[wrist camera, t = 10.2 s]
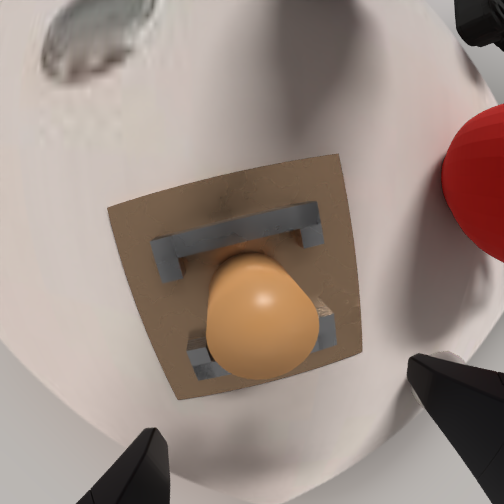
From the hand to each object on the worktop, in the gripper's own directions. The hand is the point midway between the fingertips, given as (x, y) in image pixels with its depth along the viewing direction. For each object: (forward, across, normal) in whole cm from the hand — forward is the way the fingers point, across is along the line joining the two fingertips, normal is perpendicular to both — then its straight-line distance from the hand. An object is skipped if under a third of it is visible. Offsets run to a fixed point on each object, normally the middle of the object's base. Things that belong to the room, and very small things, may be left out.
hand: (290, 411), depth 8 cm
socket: (+12, 0, 0) cm, 12 cm away
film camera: (+12, -36, -25) cm, 46 cm away
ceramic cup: (+12, -23, -3) cm, 26 cm away
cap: (+12, 0, 0) cm, 12 cm away
